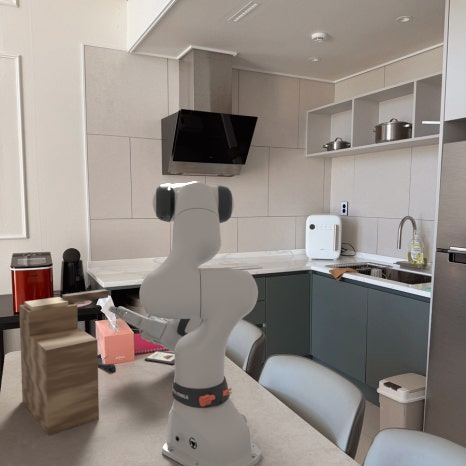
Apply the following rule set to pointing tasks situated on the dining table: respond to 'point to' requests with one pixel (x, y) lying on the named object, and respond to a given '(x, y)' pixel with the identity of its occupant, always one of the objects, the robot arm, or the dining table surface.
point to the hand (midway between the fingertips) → (117, 311)
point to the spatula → (66, 299)
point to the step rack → (58, 368)
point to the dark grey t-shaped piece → (106, 365)
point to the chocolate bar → (162, 357)
